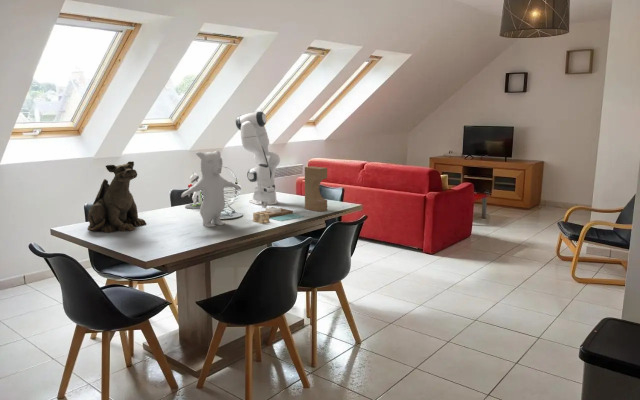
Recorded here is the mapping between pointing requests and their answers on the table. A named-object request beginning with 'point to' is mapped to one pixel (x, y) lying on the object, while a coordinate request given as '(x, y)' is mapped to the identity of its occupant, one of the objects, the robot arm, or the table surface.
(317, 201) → the decorative block
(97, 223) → the sculpture
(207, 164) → the toy bear
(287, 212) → the deck
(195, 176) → the figurine
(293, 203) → the table surface
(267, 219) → the oak rack
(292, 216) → the mat
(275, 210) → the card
